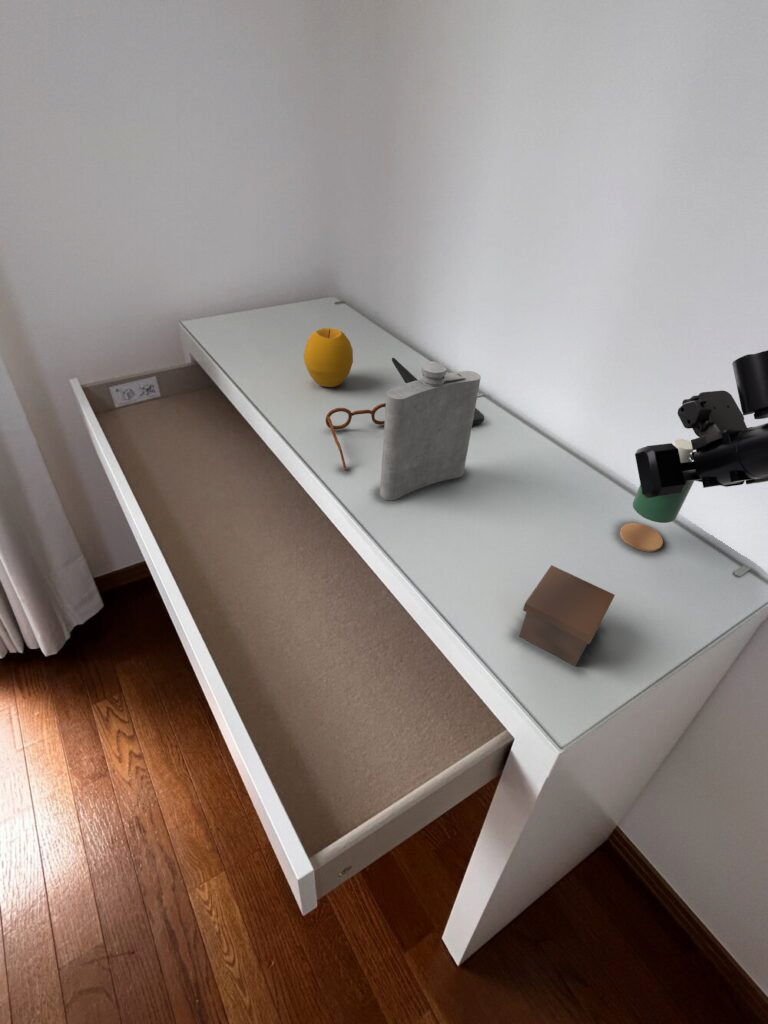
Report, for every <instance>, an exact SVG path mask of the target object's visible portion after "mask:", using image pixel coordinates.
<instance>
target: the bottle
mask: <svg viewBox="0 0 768 1024" xmlns="http://www.w3.org/2000/svg"><path fill="white" fill-rule="evenodd" d="M672 444H673V445H674V446H675V447H676V448H678V451H679V456H680V461H681V463H685V462H693V460H691V458H690V453H691V452H694V450H693V449H692V444H691V440H688V439H684V438H675V439H674V440H673V442H672ZM692 472H696V471H695V470H694V471H686V472H683V474H684V473H692ZM695 482H696V481H695V480H694V481H687V483H686V486H685V487H684V488H683V490H682V492H681V493H679V494H673V495H667V496H661V497H654V498H646V497H645V496H644V495H643V494H642V489H641V484H639V487H638V489H637V490H636V491H637V492H636V494H635V496H634V499H633V500H632V508H633V510H634V511H635V512H636V513H637V514H638V515H639V516H641V517H642V518H644V519H646V520H648V521H651V522H655V523H660V524H668V523H671V522H674V521H675V520H676V519H677V517H678V515H679V513H680V511H681V509H682V507H683V505H684V503H685V501H686V499H687V497H688V495H689V493H690V491H691V488H692V486H693V485H694V483H695Z"/></svg>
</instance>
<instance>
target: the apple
mask: <svg viewBox="0 0 768 1024" xmlns="http://www.w3.org/2000/svg"><path fill="white" fill-rule="evenodd" d="M303 351H304V352H303V361H304V365H305V367H306V370H307V372H308V374H309V376H310V377H311V379H312V381H314V382H315V383H316V384H317V385H318V386H321V387H326V388H335V387H338V386H340V385H341V384H342V383H344V381H345V380H346V379H347V378H348V376H349V374H350V372H351V369H352V367H353V363H354V349H353V346H352V344H351V342H350V339H349V338H348V336H347V335H346V334H345V333H344V332H343V331H341V330H339V328H331V327H323V328H320V329H317V330H315V331H313V332H312V333H311V334H310V336H309V337H308V339H307V340H306V344H305V347H304V350H303Z"/></svg>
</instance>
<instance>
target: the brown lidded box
mask: <svg viewBox="0 0 768 1024" xmlns="http://www.w3.org/2000/svg"><path fill="white" fill-rule="evenodd" d="M615 596H616V594H614V593H612V592H610V591H608V590H606V589H603V588H601V587H599V586H597V585H595V584H593V583H591V582H589V581H587V580H584V579H582V578H580V577H578V576H576V575H574V574H572V573H569V572H567V571H565V570H563V569H561V568H559V567H557V566H554V565H550V566H549V568H548V569H547V570H546V572H545V573H544V575H543V576H542V578H541V579H540V581H539V582H538V584H537V585H536V586H535V588H534V589H533V591H532V592H531V594H530V595H529V597H528V598H527V599H526V601H525V602H524V605H523V608H522V611H523V612H525V616H524V619H523V622H522V625H521V628H520V630H519V633H518V637H519V638H521V639H523V640H525V641H527V642H529V643H530V644H533V645H535V646H536V647H538V648H540V649H542V650H544V651H545V652H548V653H550V654H551V655H553V656H555V657H557V658H559V659H560V660H563V661H564V662H566V663H568V664H569V665H572V666H574V667H576V666H577V664H578V663H579V660H580V659H581V657H582V655H583V653H584V651H585V649H586V647H587V646H588V645H590V644H591V642H592V641H593V638H594V637H595V635H596V633H597V631H598V630H599V627H600V625H601V623H602V621H603V620H604V618H605V616H606V614H607V612H608V611H609V608H610V606H611V604H612V602H613V600H614V598H615Z"/></svg>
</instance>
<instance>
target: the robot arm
mask: <svg viewBox="0 0 768 1024" xmlns="http://www.w3.org/2000/svg"><path fill="white" fill-rule="evenodd" d="M731 364H732V369H733V374H734V379H735V384H736V388H737V394H738V399H739V403H740V408H741V409H740V408H739V406H738V404H737V402H736V400H735V398H734V397H733V395H732V394H731V393H730V392H728V391H726V390H712V391H702V392H700V393H699V394H697V395H693V396H691V397H690V398H685V399H683V400H682V404H681V406H680V407H679V408H678V409H677V416H678V418H679V420H680V421H681V423H682V426H683V427H684V429H687V430H690V429H692V430H693V432H694V434H695V436H696V438H692V439H690V442H691V444H692V449H693V452H691V453H690V460H691V461H692V462H685V463H681V461H680V456H679V451H678V448H676V447H675V446H674V445H673V442H672V443H671V442H669V443H662V444H661V443H660V444H653V445H647V446H643V447H641V448H638V449H636V451H635V453H634V456H635V463H636V467H637V473H638V476H639V477H638V478H639V483H640V484H641V489H642V494H643V495H644V496H645V497H646V498H654V497H661V496H667V495H673V494H679V493H681V492H682V490H683V488H684V487H685V486H686V483H687V481H694V480H695V481H694V482H699V483H701V484H702V488H703V489H706V488H713V487H725V488H728V487H734V486H735V487H736V486H741V485H742V486H743V484H745V485H752V484H761V483H765V482H768V422H767V423H763V424H759V425H756V426H749V427H747V424H746V422H745V417H744V416H748V415H752V414H753V418H754V419H753V420H762V419H768V350H763V351H760V352H757V353H751V354H745V355H742V356H739V358H736V359H735V360H734V361H732V363H731ZM694 470H695V471H696V472H692V473H684V474H683V472H686V471H694ZM640 484H639V485H640Z"/></svg>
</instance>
